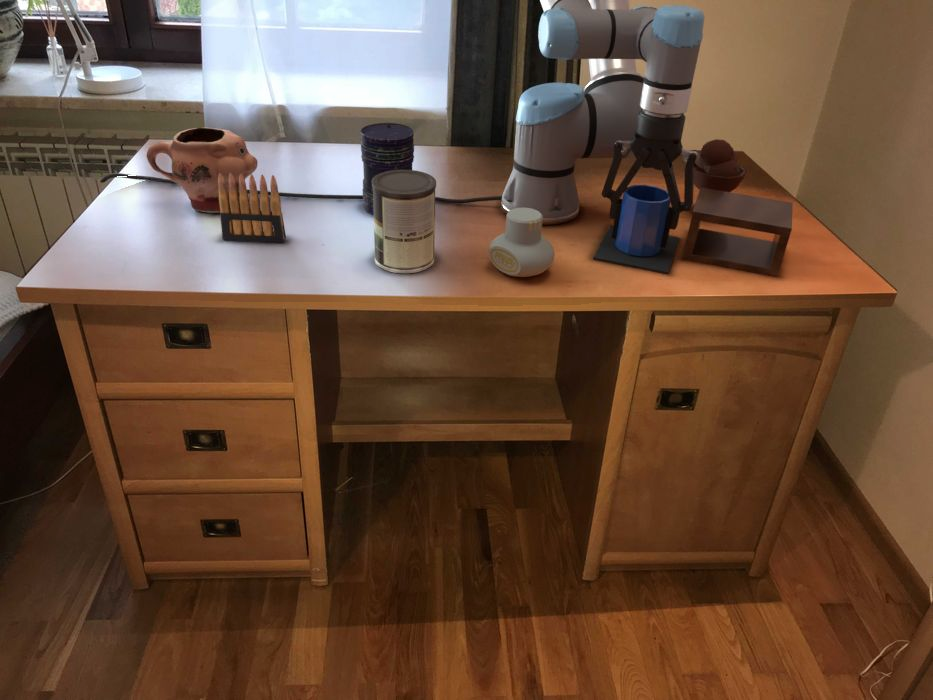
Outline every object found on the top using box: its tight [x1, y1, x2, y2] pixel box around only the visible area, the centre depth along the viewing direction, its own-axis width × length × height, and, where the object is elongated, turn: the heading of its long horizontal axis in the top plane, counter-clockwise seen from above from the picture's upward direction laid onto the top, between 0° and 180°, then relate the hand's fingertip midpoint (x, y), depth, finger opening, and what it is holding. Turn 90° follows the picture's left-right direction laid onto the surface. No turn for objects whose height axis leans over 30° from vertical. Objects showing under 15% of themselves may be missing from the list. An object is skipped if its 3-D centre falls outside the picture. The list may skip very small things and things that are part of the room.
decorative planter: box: [146, 127, 259, 213], centre depth 141 cm, size 20×12×14 cm, turn 95°
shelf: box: [681, 188, 794, 278], centre depth 134 cm, size 16×12×9 cm
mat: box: [592, 224, 681, 275], centre depth 136 cm, size 13×15×1 cm
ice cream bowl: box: [694, 138, 748, 193], centre depth 147 cm, size 11×11×15 cm
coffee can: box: [372, 169, 437, 274], centre depth 125 cm, size 10×10×14 cm
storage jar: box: [360, 122, 415, 216], centre depth 143 cm, size 10×10×15 cm
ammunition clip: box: [218, 173, 287, 244], centre depth 130 cm, size 11×2×12 cm, turn 89°
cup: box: [615, 184, 671, 256], centre depth 133 cm, size 8×8×10 cm
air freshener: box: [488, 208, 555, 278], centre depth 125 cm, size 11×8×10 cm
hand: (639, 239), depth 135 cm, fingers closed on cup, 8 cm apart
